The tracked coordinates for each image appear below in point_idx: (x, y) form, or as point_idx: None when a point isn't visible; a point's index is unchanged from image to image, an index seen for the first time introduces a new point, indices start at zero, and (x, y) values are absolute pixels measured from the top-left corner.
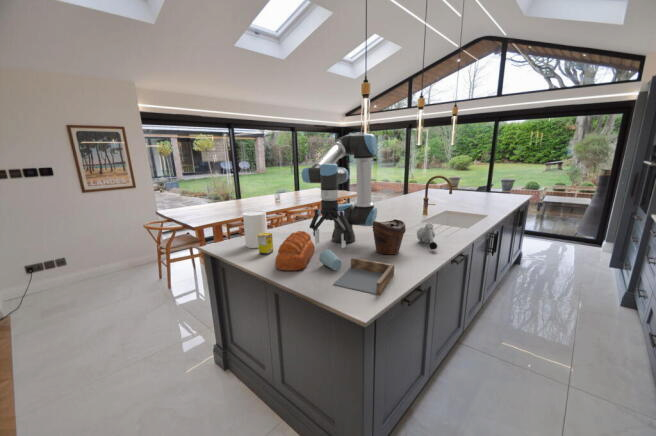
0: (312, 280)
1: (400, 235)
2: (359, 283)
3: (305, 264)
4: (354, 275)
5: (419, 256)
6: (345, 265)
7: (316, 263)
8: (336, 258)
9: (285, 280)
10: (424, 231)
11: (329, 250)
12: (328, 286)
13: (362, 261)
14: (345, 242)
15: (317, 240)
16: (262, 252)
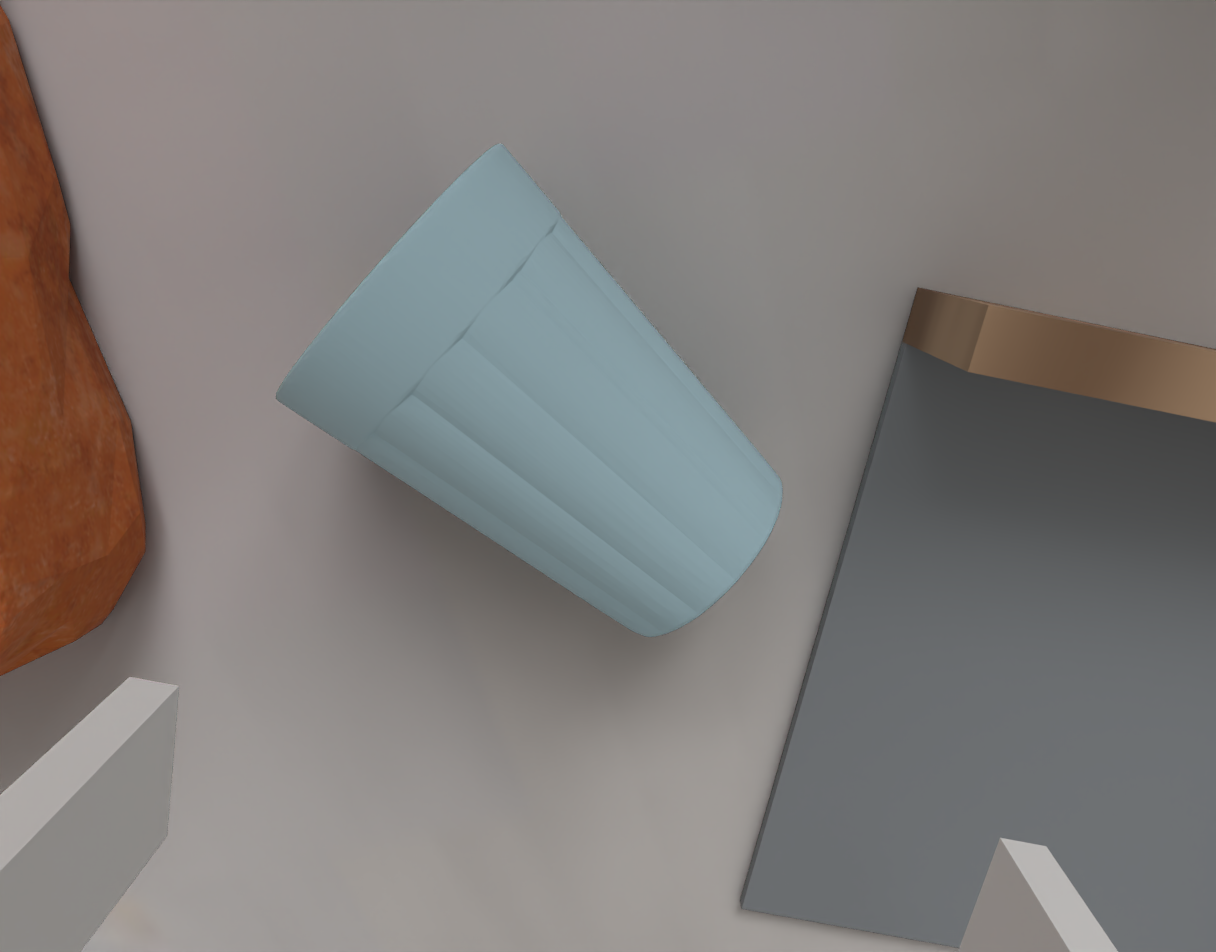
0: (444, 847)
1: None
2: (1084, 831)
3: (119, 499)
4: (998, 621)
5: None
6: (787, 227)
7: (242, 264)
8: (703, 569)
9: (111, 915)
10: None
11: (447, 292)
12: (696, 942)
13: (1210, 418)
14: (1104, 944)
15: (120, 851)
16: None
